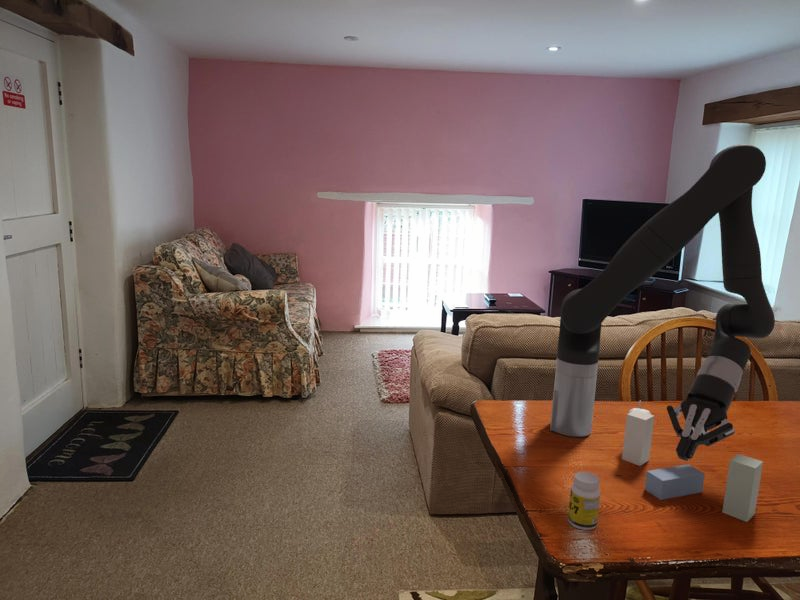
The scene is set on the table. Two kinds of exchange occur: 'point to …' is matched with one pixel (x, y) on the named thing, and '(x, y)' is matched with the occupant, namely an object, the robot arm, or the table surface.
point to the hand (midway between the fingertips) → (682, 457)
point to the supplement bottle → (584, 501)
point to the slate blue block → (674, 481)
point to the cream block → (638, 437)
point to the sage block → (742, 487)
